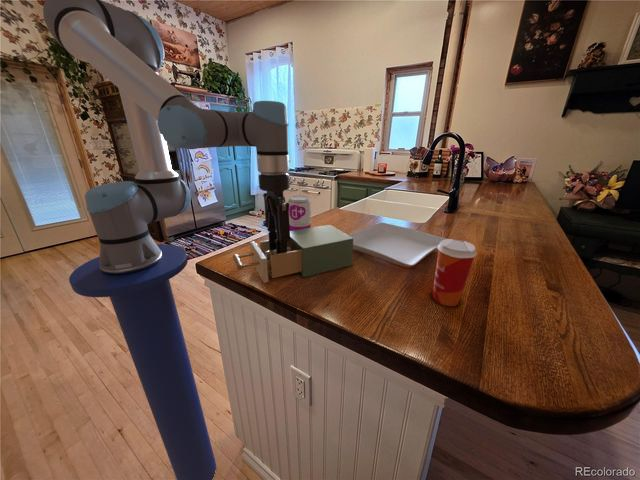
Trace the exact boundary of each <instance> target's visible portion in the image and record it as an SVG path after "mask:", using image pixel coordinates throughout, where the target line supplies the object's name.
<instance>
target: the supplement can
mask: <svg viewBox="0 0 640 480" xmlns="http://www.w3.org/2000/svg"><path fill="white" fill-rule="evenodd" d="M287 202H288V203H289V226H290V231H294V230H300V229H306V228H312V201H311V200H310V197H309V196H308V195H293V196H289V198H288V201H287Z"/></svg>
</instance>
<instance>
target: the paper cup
mask: <svg viewBox="0 0 640 480" xmlns="http://www.w3.org/2000/svg"><path fill="white" fill-rule="evenodd" d="M437 248H438V249H437V250H438V251H437V259H436V265H435V273H434V280H433V281H434V282H433V289H432V299H433V300H434V301H435V302H436V303H438V304H440V305H442V306H446V307H455V306H457V305H459V302H460V300H461V297H462V294H463V291H464V288H465V285H466V282H467V280H468V276H469V273H470V270H471V268H472V264H473V262H474V259H475V257H477V255H478V254H477V251H476V250H477V249H476V246H475V245H474V244H473V243H471V242H469V241H466V240H465V241H463V240H460V239H454V238H446V239H445V240H442V241H441V242H440V244H439V245H438V246H437Z"/></svg>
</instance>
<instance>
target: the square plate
mask: <svg viewBox="0 0 640 480" xmlns="http://www.w3.org/2000/svg"><path fill="white" fill-rule="evenodd" d="M347 235H348V236H350V237H352V238H353V250H356V251H358V252H361V253H363V254H366V255H369V256H372V257H375V258H377V259H380V260H383V261H385V262H388V263H391V264H393V265H397V266H401V267H403V268H406V269H407V268H409V269H410V268H412V267H414V266H416V265H417V264H418V263H419V262H421V261H422V260H424V258H426V257H428V256H429V255H430V254H432V253H433V252H435V251H437V250H438V248H437V246H438V245H439V244H440V242H441V241H442V240H445V239H447V238H446V237H442V236H439V235H435V234H431V233H428V232H424V231H420V230H416V229H413V228H409V227H405V226H401V225H395V224H391V223H387V222H382V221H381V222H378V223H375V224H373V225H370V226H366V227H365V228H362V229H359V230H356V231H353V232H351V233H348V234H347Z"/></svg>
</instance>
